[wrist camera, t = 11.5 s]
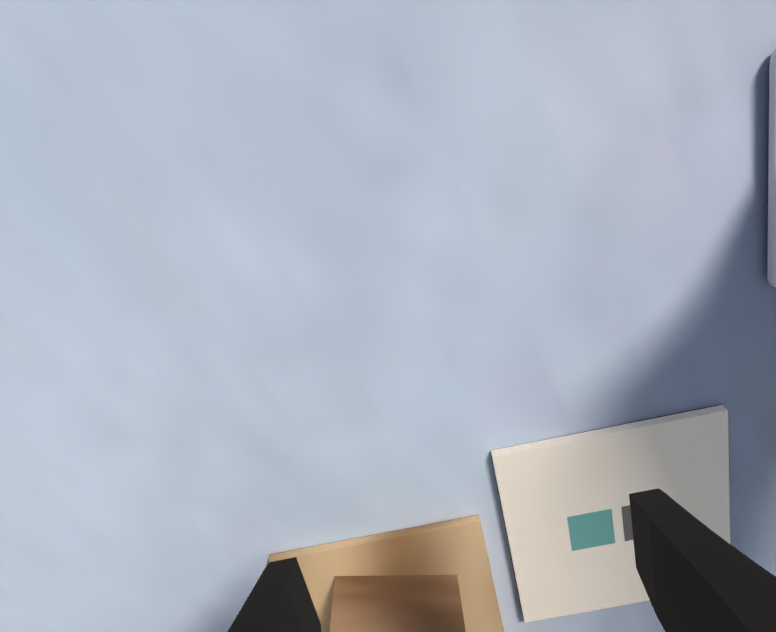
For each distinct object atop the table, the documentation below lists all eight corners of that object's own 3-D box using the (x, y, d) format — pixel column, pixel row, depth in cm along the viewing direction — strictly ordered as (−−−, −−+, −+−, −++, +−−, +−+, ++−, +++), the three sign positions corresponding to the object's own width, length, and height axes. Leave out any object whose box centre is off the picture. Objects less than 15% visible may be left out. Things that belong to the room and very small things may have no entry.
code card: (722, 404, 23) (728, 410, 22) (726, 579, 26) (731, 586, 26) (490, 450, 23) (492, 457, 23) (522, 615, 27) (524, 623, 26)
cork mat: (478, 514, 24) (479, 521, 24) (510, 664, 28) (512, 672, 27) (269, 554, 25) (268, 561, 25) (325, 696, 28) (324, 704, 28)
